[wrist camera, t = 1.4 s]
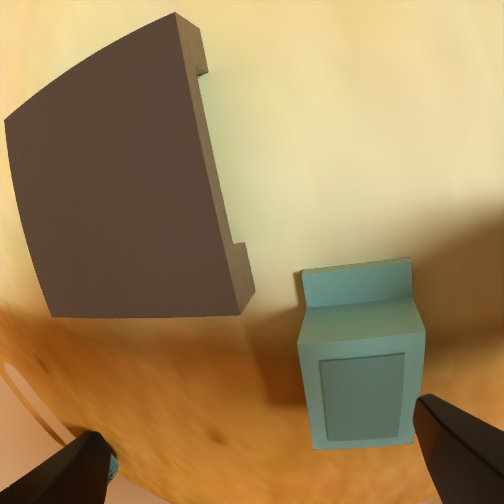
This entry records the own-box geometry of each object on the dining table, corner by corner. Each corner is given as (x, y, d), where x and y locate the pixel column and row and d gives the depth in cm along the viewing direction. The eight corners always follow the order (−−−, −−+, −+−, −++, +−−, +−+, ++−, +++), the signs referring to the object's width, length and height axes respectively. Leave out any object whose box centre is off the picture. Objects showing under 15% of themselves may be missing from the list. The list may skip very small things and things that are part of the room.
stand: (255, 291, 19) (240, 314, 16) (75, 301, 24) (52, 316, 22) (199, 28, 15) (175, 12, 12) (31, 118, 20) (4, 120, 17)
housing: (404, 414, 19) (408, 463, 15) (324, 420, 21) (315, 468, 17) (408, 256, 16) (427, 292, 12) (303, 269, 18) (289, 307, 14)
